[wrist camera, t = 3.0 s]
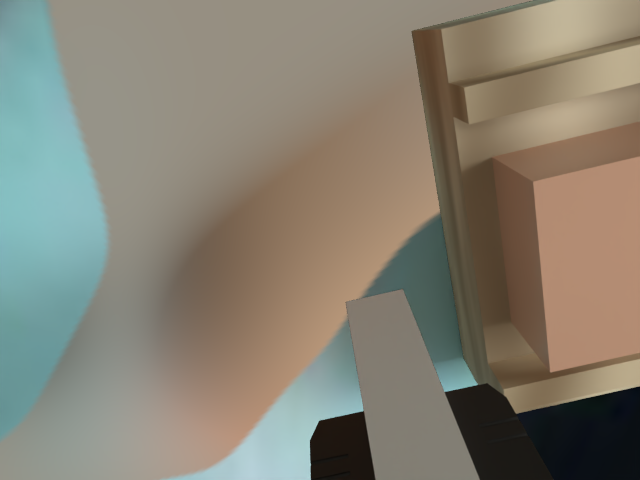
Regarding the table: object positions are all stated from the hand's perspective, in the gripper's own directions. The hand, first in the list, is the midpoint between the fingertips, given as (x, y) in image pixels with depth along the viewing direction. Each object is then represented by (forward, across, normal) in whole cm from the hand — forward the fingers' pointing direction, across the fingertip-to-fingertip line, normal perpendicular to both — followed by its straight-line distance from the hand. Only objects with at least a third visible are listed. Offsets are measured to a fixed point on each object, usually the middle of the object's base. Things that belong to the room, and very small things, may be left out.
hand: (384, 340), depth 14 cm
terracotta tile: (+4, +8, 0) cm, 9 cm away
